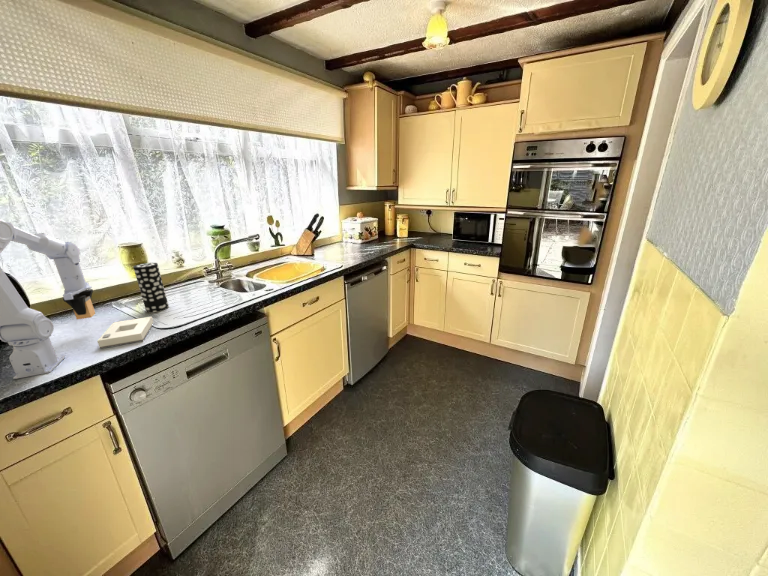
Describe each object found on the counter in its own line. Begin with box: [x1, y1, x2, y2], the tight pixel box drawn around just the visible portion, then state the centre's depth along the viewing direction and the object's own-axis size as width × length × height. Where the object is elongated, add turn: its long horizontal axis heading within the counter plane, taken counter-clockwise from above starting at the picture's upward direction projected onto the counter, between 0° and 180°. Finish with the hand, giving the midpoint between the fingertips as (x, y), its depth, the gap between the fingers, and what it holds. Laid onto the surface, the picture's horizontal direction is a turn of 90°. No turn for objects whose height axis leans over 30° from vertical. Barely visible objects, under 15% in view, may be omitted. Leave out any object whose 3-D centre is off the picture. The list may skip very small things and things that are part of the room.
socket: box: [97, 316, 154, 350], centre depth 112 cm, size 16×12×3 cm
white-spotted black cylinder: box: [133, 262, 170, 313], centre depth 133 cm, size 8×8×20 cm
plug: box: [72, 296, 96, 320], centre depth 111 cm, size 4×4×7 cm
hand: (84, 312), depth 111 cm, fingers closed on plug, 4 cm apart
